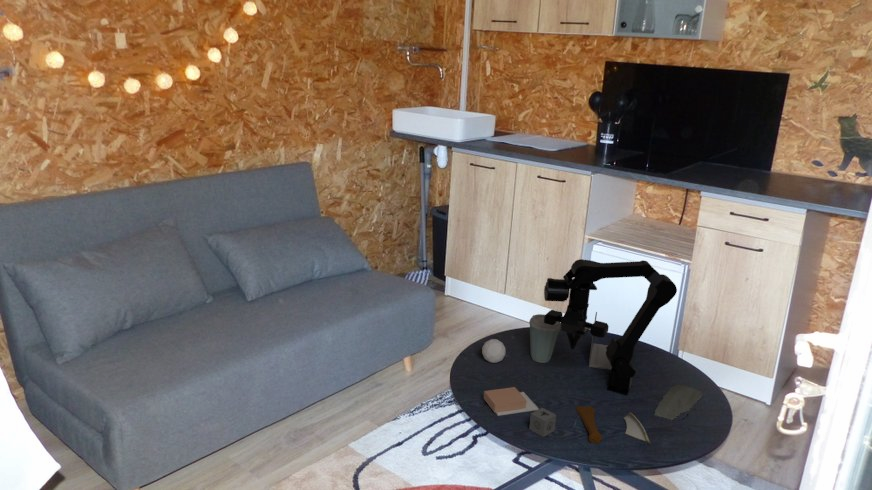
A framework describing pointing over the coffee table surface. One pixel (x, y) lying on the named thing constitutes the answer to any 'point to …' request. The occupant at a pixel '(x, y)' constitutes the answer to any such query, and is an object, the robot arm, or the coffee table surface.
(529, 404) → the mat
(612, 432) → the coffee table surface
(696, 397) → the stone slab
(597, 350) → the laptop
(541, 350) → the disposable coffee cup
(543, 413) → the dice cube
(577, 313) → the robot arm
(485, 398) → the tile
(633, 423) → the ceramic fragment
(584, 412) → the primitive tool
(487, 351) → the geometric ball
